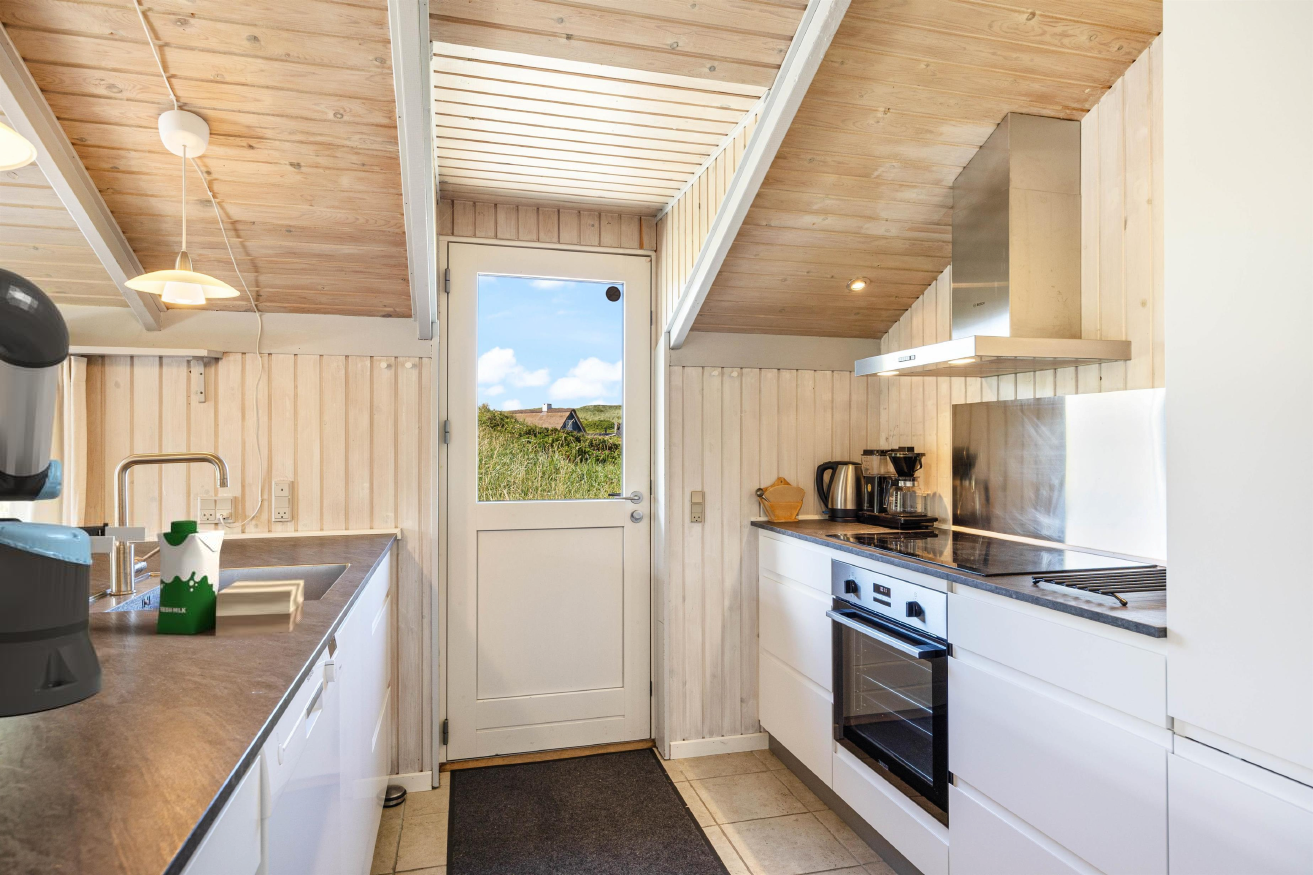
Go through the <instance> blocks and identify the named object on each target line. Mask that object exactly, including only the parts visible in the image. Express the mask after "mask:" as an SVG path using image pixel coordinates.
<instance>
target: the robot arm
mask: <svg viewBox="0 0 1313 875" xmlns="http://www.w3.org/2000/svg"><path fill="white" fill-rule="evenodd" d="M69 350H70V334H69V328H68V326H67V323H66V320H65V319H64V316H63V315H62V313H61V311H60V310H59V308H58V306H57V305H56V303H55V302H54V301H53V300H52V299H51V298H50V297H49V295H47V293H46V292H44V291H43V290H42V289H41V288H40V287H39V286H37V285H36V284H35V283H34V282H32V281H31V280H30V279H28V278H26V277H24V276H23V275H19V273H16V272H13V271H11V270H8V269H5V268H1V267H0V502H36V501H45V500H46V501H49V500H56V499H57V498H59V497H60V496H61V494H62V483H63V465H62V462H61V461H60V460H58V459H51V456H52V455H51V452H52V445H53V434H54V433H53V432H54V424H55V422H54V421H55V412H56V403H57V391H58V382H59V381H58V380H59V372H60V371H59V370H60V365H62V364H64V363H65V361H66V360H67V359H68V357H69V352H70V351H69ZM147 528H148V526H109V522H103V523H102V525H90V526H89V525H88V526H87V525H86V526H70V525H63V524H57V523H56V524H53V523H42V522H31V521H30V522H28V521H23V520H21V519H19V518H16V517H0V717H4V716H13V715H22V714H29V713H35V712H40V711H45V710H46V711H47V710H49V709H54V708H57V707H62V706H65V705H69V704H73V703H75V702H79V701H81V700H84V699H87V698H89V697H91V696H93V695H95V694H97V693H98V692H99V691H101V690H102V688H103V687H104V686H103V685H104V670H103V666H102V664H101V661H100V659H99V657H98V654H97V651H96V648H95V646H94V643H93V641H92V638H91V635H90V631H89V630H90V627H89V626H90V598H91V597H90V590H91V588H90V586H91V584H90V583H91V565H93V559H92V554H93V553H94V554H99V553H100V554H102V553H103V554H104V553H105V554H107V553H108V554H112V553H115V550H116V548H115V546H116V545H115V544H116V542H147V533H148V529H147Z"/></svg>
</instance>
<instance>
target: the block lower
mask: <svg viewBox="0 0 1313 875" xmlns="http://www.w3.org/2000/svg"><path fill="white" fill-rule="evenodd" d="M302 617H303V618H304V600H303V601H302V602H301V603H300V604H299V605H298V606H297V607H296V608H295V609H294V610H293V611H292V612H291V613H288V614H259V615H231V616H216V627H215V637H220V636H245V635H265V634H266V635H269V634H270V635H272V634H280V633H279V632H290V631H293V630H294V628H295V627H296V626H297V625H298V624H297V623H299V622H300V621H301V620H302V619H303V618H302ZM301 618H302V619H301ZM300 619H301V620H300ZM299 620H300V621H299ZM298 621H299V622H298ZM296 624H297V625H296ZM295 625H296V626H295ZM294 626H295V627H294ZM293 627H294V628H293ZM271 633H272V634H271ZM290 633H291V632H290Z"/></svg>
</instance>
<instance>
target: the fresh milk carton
mask: <svg viewBox="0 0 1313 875" xmlns="http://www.w3.org/2000/svg"><path fill="white" fill-rule="evenodd" d="M225 533H226V530H225V529H224V530H223V529H221V530H220V529H199V528H198V521H197V520H173V521H172V520H171V522H170V531H164V532H158V533H156V537H157V542H158V547H159V554H160V572H159V573H160V574H159V575H160V576H159V600H158V601H159V604H158V615H157V616H158V617H157V627H156V634H158V633H159V634H178V635H195V634H199V633H201V632H204V631H206V630H210V629H212V628H216V602H217V593H218V592H219V591H220V590H219V587H220V586H219V584H220V556H221V555H220V554H221V548H222V546H223V545H222V544H223V540H224V535H225Z"/></svg>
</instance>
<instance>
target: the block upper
mask: <svg viewBox="0 0 1313 875" xmlns="http://www.w3.org/2000/svg"><path fill="white" fill-rule="evenodd" d="M304 594H305V579H280V580H279V579H277V580H276V579H275V580H274V579H273V580H271V579H270V580H241V581H240V580H237V581H235V582H234V583H232V584H231V585H228V586H226V587H225V588H224V589H222V590H219V591H218V593H217V602H216V616H231V615H259V614H288V613H291V612H292V611H293V610H294V609H295V608H296V607H297V606H298V605H299V604H300V603H301V602H302V601H303V602H304V601H305V595H304Z"/></svg>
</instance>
